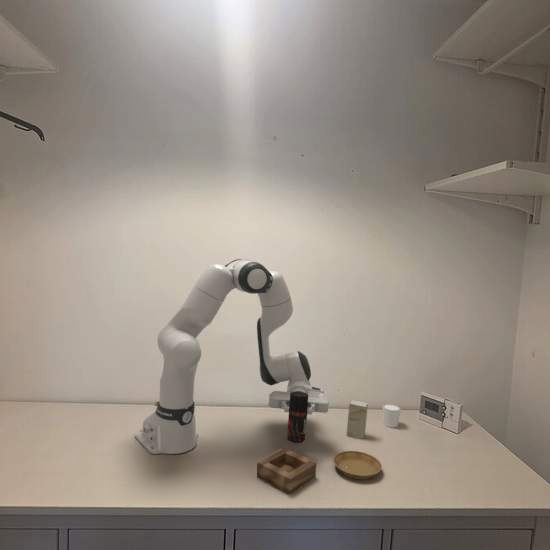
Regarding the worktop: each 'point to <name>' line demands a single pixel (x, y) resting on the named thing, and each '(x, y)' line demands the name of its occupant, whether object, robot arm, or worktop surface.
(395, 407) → the white cylinder
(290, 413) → the deodorant
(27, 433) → the worktop surface
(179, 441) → the robot arm
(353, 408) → the skincare box
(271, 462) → the slot block
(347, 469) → the plant saucer
